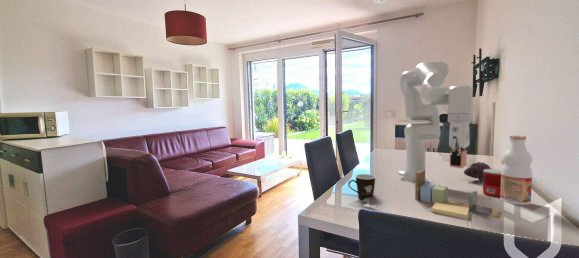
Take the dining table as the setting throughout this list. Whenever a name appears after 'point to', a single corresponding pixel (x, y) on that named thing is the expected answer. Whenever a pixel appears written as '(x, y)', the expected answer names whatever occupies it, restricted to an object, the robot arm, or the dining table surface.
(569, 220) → the dining table surface
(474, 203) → the bookend
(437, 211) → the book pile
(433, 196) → the olive book
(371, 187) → the coffee mug
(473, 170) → the pine cone
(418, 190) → the shelf
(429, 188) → the blue book
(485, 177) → the canned food
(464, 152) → the terracotta book
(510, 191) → the fruit juice
